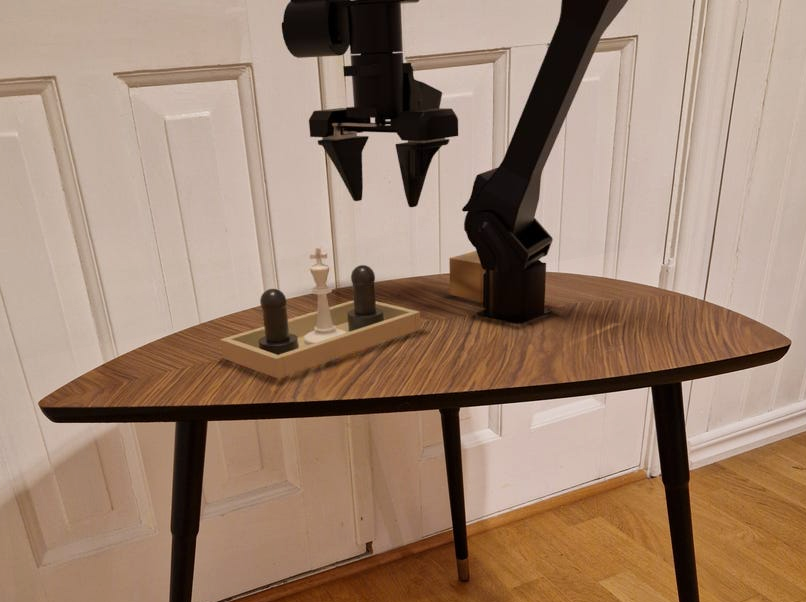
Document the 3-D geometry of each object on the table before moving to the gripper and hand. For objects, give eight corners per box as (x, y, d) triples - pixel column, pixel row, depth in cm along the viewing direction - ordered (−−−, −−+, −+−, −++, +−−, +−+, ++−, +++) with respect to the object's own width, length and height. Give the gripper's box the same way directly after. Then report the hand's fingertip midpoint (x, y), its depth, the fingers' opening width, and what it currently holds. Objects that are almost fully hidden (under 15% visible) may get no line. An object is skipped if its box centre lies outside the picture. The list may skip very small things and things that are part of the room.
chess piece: (345, 349, 84) (337, 252, 79) (299, 350, 85) (288, 253, 80) (352, 335, 88) (345, 241, 84) (308, 335, 89) (299, 243, 84)
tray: (363, 318, 96) (361, 297, 95) (421, 333, 90) (420, 311, 88) (223, 362, 84) (219, 339, 83) (279, 383, 78) (276, 358, 77)
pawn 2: (391, 328, 90) (388, 264, 87) (365, 337, 88) (360, 271, 84) (367, 322, 93) (363, 259, 89) (341, 330, 90) (335, 266, 87)
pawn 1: (307, 356, 83) (300, 287, 79) (276, 367, 80) (267, 296, 77) (283, 348, 85) (276, 281, 82) (252, 358, 83) (243, 290, 80)
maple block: (506, 295, 102) (506, 255, 99) (480, 304, 99) (480, 263, 96) (475, 289, 105) (475, 250, 103) (449, 298, 102) (449, 258, 100)
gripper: (490, 47, 87) (489, 199, 94) (370, 54, 99) (377, 189, 106) (420, 51, 80) (425, 214, 87) (299, 58, 92) (313, 201, 99)
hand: (384, 203), depth 95 cm, fingers open, 9 cm apart
